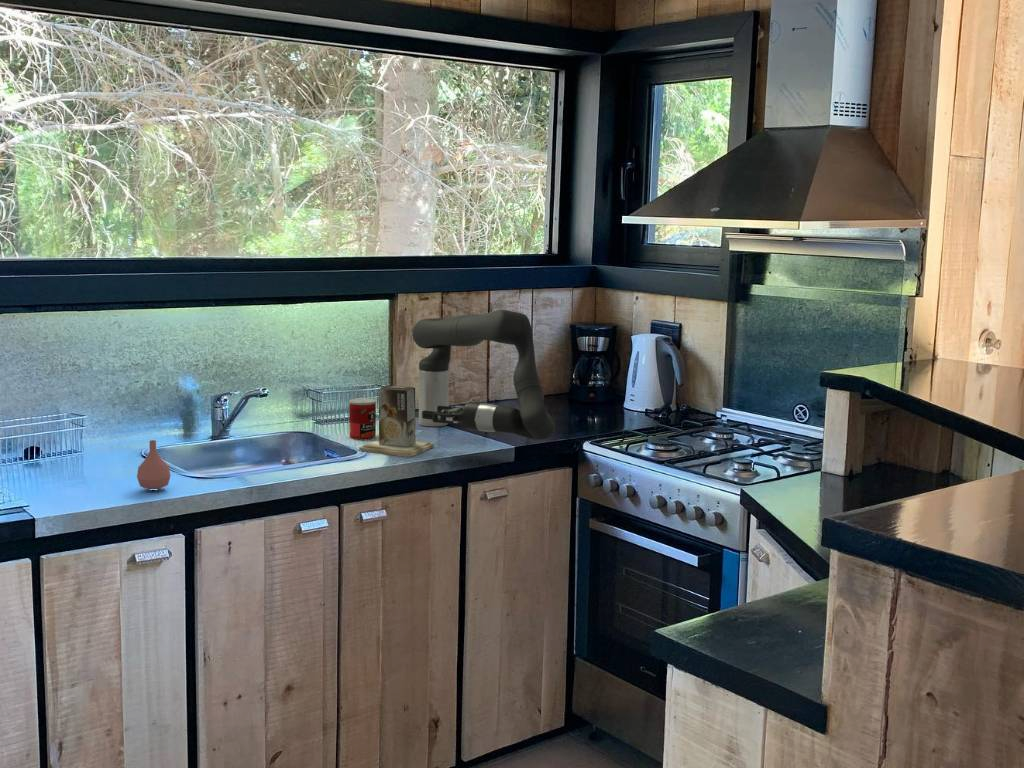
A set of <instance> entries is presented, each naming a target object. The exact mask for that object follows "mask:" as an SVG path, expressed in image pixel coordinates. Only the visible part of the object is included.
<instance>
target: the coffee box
mask: <svg viewBox="0 0 1024 768" xmlns="http://www.w3.org/2000/svg"><path fill="white" fill-rule="evenodd" d="M377 392H378V397H377V399H378V403H377V404H378V440H379V445H390V446H403V447H409V446H411V445H413V444H415V443H416V441H417V439H416V386H415V387H413V386H398V385H383V386H382V387H380V388H378V390H377Z"/></svg>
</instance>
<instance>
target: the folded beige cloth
mask: <svg viewBox="0 0 1024 768" xmlns="http://www.w3.org/2000/svg"><path fill="white" fill-rule="evenodd" d="M434 446H435V444H434V443H431V442H429V441H419V440H416V443H415V444H413V445H411V446H409V447H403V446H390V445H379V439H378V440H374V441H372V442H369V443H365V444H364V445H362V446H359V447H358V451H359V452H364V451H368V452H367V453H372V454H380V453H381V455H388V454H389V456H395V455H396V456H395V457H397V456H399V457H403V456H404V457H405V458H411V457H413V456H415V455H418V454H421V453H423V452H426V451H428V450H430V448H431V449H433V448H434ZM432 447H433V448H432ZM427 449H428V450H427ZM360 450H361V451H360ZM425 450H426V451H425ZM420 452H421V453H420Z"/></svg>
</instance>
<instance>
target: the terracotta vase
mask: <svg viewBox="0 0 1024 768" xmlns="http://www.w3.org/2000/svg"><path fill="white" fill-rule="evenodd" d="M171 475H172V474H171V471H170V466H169V465H168V464H167V462H165V461H164V460H163V459H162V458H161V455H160V454H159V453H158V450H157V440H154V439H152V440H149V451H148V453H147V455H146V457H145V459H144V460H143V461H142V462H141V463H140V464H139V466H138V468H137V474H136V478H137V481H138V483H139V487H141V488H143V489H147V490H149V489H159V488H160V489H162V488H164V487H167V486H168V485H169V483H170V479H171ZM160 489H159V490H160Z"/></svg>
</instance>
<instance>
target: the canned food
mask: <svg viewBox="0 0 1024 768" xmlns="http://www.w3.org/2000/svg"><path fill="white" fill-rule="evenodd" d="M348 404H349V405H348V407H349V408H348V410H349V411H348V415H349V418H348V421H349V423H348V424H349V431H348V432H349V437H350V438H351V439H353V440H359V441H360V439H362V440H363V441H365V439H367V440H372V439H374V438H375V437H376V435H377V434H376V431H377V429H376V428H377V423H376V422H377V421H376V419H377V418H376V417H377V415H376V414H377V408H376V407H377V406H376V405H377V404H376V400H375V399H374V398H367V397H362V398H361V397H359V398H358V397H357V398H352V399H350V400H349V402H348Z"/></svg>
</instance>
